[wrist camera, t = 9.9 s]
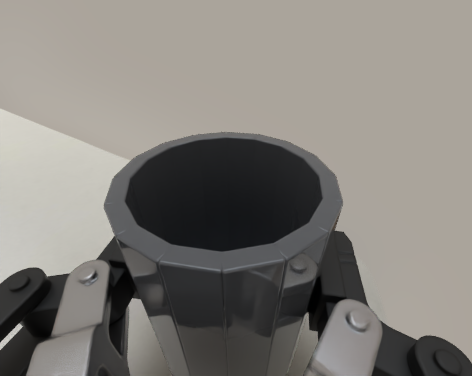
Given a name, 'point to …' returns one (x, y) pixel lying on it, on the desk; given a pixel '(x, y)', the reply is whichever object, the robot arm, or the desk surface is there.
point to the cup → (225, 247)
